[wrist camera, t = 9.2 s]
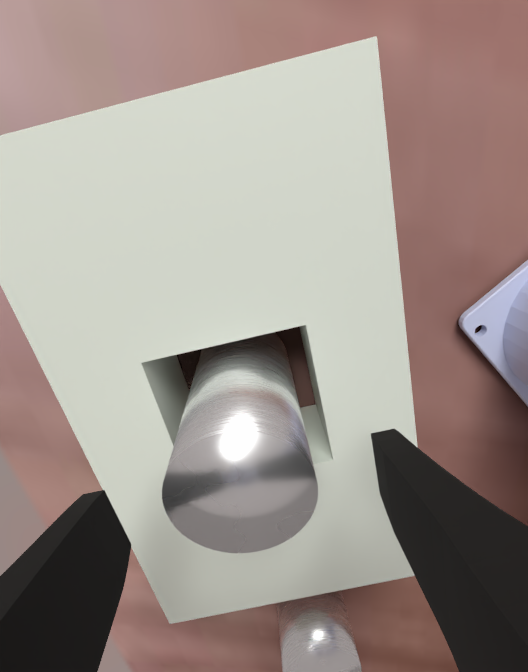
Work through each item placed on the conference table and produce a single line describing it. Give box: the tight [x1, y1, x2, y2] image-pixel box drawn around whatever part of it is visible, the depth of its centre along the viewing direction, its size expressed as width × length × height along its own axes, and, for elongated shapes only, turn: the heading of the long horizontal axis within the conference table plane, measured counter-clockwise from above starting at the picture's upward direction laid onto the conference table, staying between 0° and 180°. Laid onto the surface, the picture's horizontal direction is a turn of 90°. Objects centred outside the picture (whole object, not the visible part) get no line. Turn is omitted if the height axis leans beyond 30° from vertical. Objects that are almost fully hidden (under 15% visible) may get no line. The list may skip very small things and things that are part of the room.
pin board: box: [0, 36, 418, 624], centre depth 15 cm, size 20×12×4 cm, turn 13°
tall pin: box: [162, 332, 318, 553], centre depth 13 cm, size 4×4×8 cm
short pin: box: [276, 590, 362, 672], centre depth 21 cm, size 4×4×4 cm
